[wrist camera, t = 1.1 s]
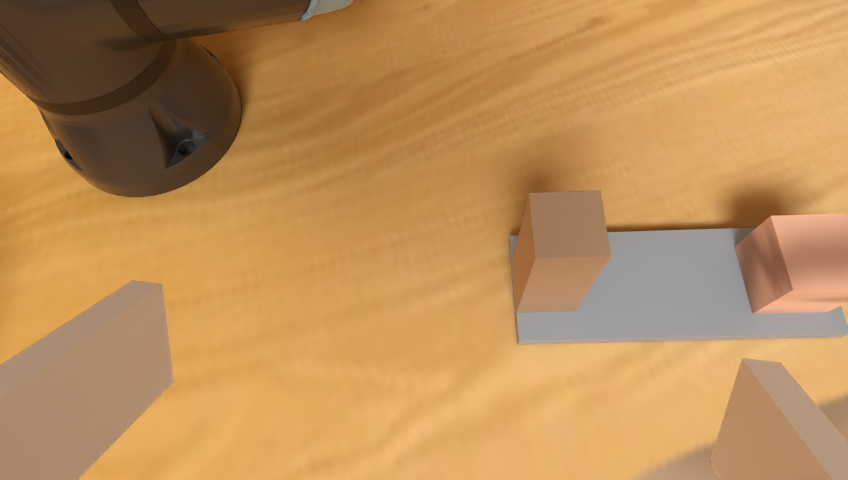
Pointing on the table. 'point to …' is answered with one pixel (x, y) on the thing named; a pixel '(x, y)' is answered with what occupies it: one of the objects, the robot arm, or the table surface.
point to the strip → (635, 282)
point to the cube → (796, 263)
